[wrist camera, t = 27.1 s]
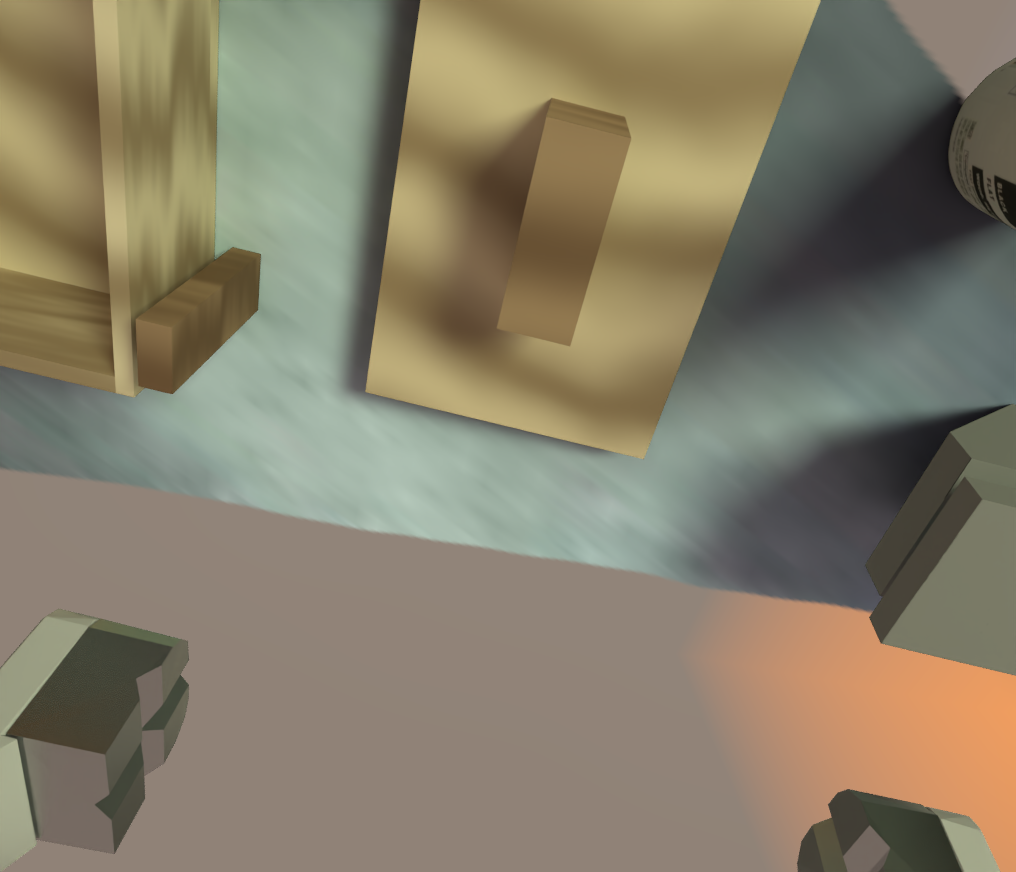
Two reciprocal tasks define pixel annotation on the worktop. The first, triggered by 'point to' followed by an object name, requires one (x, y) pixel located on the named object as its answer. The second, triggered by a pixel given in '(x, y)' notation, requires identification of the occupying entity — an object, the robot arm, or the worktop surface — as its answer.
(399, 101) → the worktop surface
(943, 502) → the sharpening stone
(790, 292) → the worktop surface
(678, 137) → the toolbox lid
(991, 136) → the spray can
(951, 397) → the worktop surface
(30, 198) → the toolbox
